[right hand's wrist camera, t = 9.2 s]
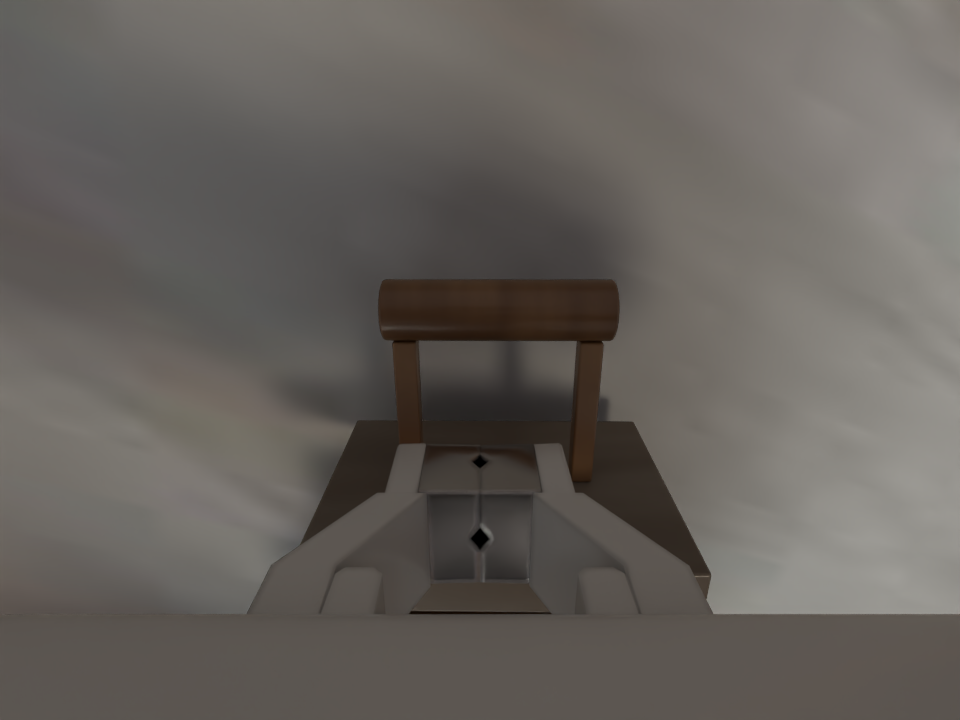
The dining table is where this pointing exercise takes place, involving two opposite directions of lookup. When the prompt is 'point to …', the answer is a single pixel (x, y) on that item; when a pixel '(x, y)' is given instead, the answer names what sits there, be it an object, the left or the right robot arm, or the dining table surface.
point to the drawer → (585, 441)
